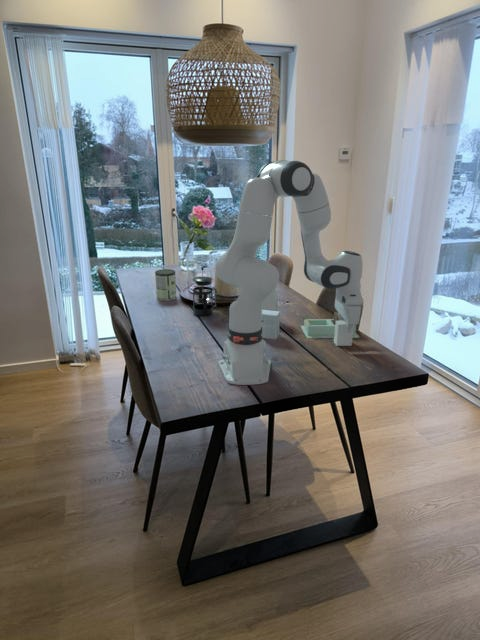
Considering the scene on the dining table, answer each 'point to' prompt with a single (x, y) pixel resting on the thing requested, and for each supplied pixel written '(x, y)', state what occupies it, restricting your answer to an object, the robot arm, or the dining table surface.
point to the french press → (203, 296)
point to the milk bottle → (270, 302)
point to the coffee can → (165, 284)
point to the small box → (270, 324)
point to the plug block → (342, 334)
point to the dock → (321, 328)
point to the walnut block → (336, 317)
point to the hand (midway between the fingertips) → (344, 327)
